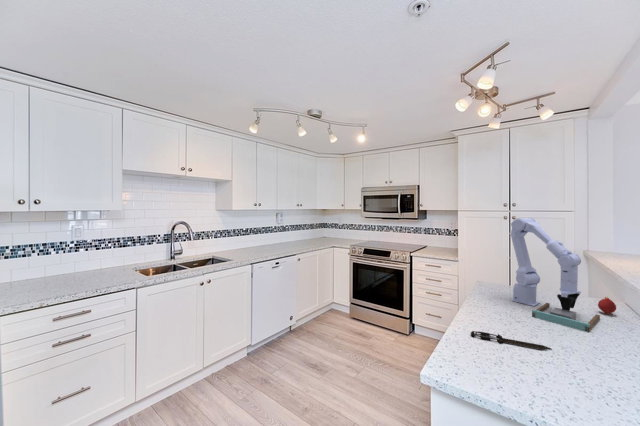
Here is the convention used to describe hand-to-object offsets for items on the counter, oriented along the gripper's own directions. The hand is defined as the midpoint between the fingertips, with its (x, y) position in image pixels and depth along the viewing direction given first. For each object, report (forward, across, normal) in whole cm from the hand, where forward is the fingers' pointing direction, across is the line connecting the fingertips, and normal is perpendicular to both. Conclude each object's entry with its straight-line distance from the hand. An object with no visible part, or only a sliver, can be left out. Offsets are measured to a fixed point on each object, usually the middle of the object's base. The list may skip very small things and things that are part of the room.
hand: (568, 309), depth 125 cm
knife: (+4, -48, +6) cm, 49 cm away
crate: (+3, -8, 0) cm, 9 cm away
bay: (+3, -3, 0) cm, 4 cm away
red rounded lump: (+3, +17, -10) cm, 20 cm away
